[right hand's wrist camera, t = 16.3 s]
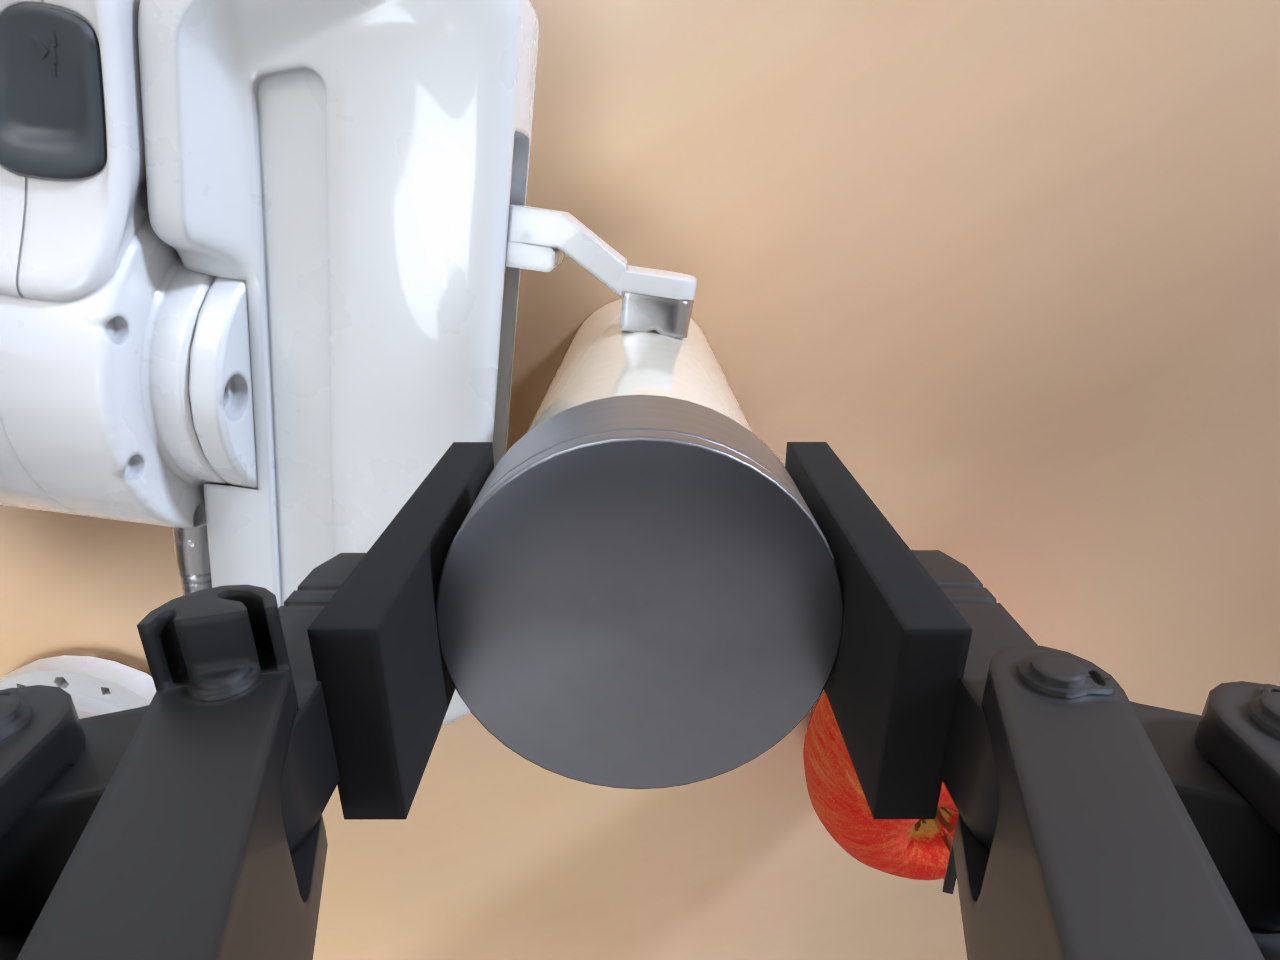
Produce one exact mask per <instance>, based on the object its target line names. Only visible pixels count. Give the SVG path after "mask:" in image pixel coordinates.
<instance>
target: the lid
mask: <svg viewBox="0 0 1280 960" xmlns="http://www.w3.org/2000/svg"><path fill="white" fill-rule="evenodd" d="M843 615H844V601H843V592H842V584H841V580H840V576H839V572H838V568H837V565H836V561H835V559H834V557H833V554H832V552H831V550H830V547H829V545H828V543H827V541H826V538H825V537H824V535H823V533H822V531H821V530H820V528H819V526H818V524H817V522H816V521H815V519H814V517H813V515H812V513H811V512H810V510H809V508H808V506H807V504H806V503H805V501H804V499H803V497H802V495H801V494H800V492H799V490H798V488H797V486H796V485H795V483H794V481H793V480H792V478H791V476H790V475H789V473H788V472H787V470H786V468H785V467H784V465H783V464H782V462H781V461H780V460H779V459H778V458H777V457H776V455H775V454H774V453H773V452H772V451H771V449H770V448H769V447H768V446H767V445H766V444H765V443H763V442H762V441H761V440H760V439H759V438H758V437H757V436H756V435H754V434H753V433H752V432H751V431H750V430H748V429H747V428H745V427H744V426H742V425H741V424H739V423H738V422H736V421H735V420H733V419H731V418H729V417H727V416H725V415H723V414H721V413H719V412H717V411H715V410H713V409H711V408H708V407H705V406H702V405H699V404H696V403H693V402H690V401H686V400H681V399H676V398H671V397H666V396H655V395H625V396H614V397H608V398H603V399H598V400H593V401H590V402H586V403H583V404H580V405H577V406H574V407H571V408H569V409H567V410H565V411H562V412H560V413H558V414H556V415H554V416H552V417H550V418H548V419H547V420H545V421H544V422H542V423H541V424H539V425H537V426H536V427H534V428H533V429H531V430H530V431H529V432H527V433H526V434H525V435H524V436H523V437H522V438H521V439H519V440H518V441H517V442H516V443H515V444H514V445H513V446H512V447H511V448H510V449H509V450H508V451H507V452H506V454H505V455H504V456H503V457H502V458H501V459H500V461H499V462H498V463H497V465H496V466H495V468H494V469H493V471H492V472H491V474H490V476H489V477H488V479H487V480H486V482H485V484H484V486H483V487H482V489H481V491H480V493H479V495H478V496H477V498H476V500H475V502H474V504H473V505H472V507H471V509H470V511H469V513H468V514H467V516H466V518H465V520H464V522H463V523H462V525H461V527H460V529H459V531H458V532H457V534H456V536H455V538H454V540H453V542H452V545H451V547H450V549H449V551H448V553H447V556H446V558H445V560H444V564H443V567H442V571H441V575H440V578H439V582H438V589H437V597H436V620H437V629H438V637H439V645H440V651H441V655H442V658H443V661H444V663H445V666H446V669H447V672H448V675H449V677H450V679H451V681H452V683H453V684H454V686H455V688H456V690H457V692H458V694H459V696H460V697H461V699H462V700H463V701H464V703H465V704H466V706H467V707H468V709H469V710H470V711H471V713H472V714H473V715H474V716H475V717H476V718H477V720H478V721H479V722H480V723H481V724H482V725H483V726H484V727H485V728H486V729H487V730H488V731H489V732H490V733H491V734H492V735H493V736H495V737H496V738H497V739H498V740H499V741H501V742H502V743H503V744H504V745H505V746H507V747H508V748H510V749H511V750H513V751H514V752H516V753H517V754H519V755H520V756H522V757H523V758H525V759H527V760H529V761H531V762H532V763H534V764H536V765H538V766H540V767H542V768H544V769H546V770H549V771H551V772H554V773H557V774H559V775H562V776H565V777H567V778H570V779H574V780H578V781H582V782H586V783H589V784H594V785H601V786H607V787H614V788H629V789H650V788H666V787H672V786H679V785H685V784H690V783H694V782H698V781H701V780H705V779H709V778H712V777H715V776H717V775H720V774H723V773H725V772H728V771H731V770H733V769H735V768H737V767H739V766H741V765H743V764H745V763H747V762H749V761H751V760H753V759H755V758H756V757H758V756H759V755H761V754H762V753H764V752H765V751H767V750H768V749H770V748H771V747H773V746H774V745H775V744H777V743H778V742H779V741H780V740H781V739H782V738H784V737H785V736H786V735H787V734H788V733H790V732H791V731H792V730H793V729H794V728H795V727H796V725H797V724H798V723H799V722H800V721H801V720H802V719H803V718H804V717H805V716H806V715H807V713H808V712H809V711H810V709H811V708H812V706H813V705H814V704H815V702H816V701H817V699H818V698H819V697H820V695H821V693H822V691H823V689H824V687H825V685H826V684H827V682H828V680H829V678H830V676H831V673H832V670H833V668H834V665H835V662H836V659H837V657H838V654H839V648H840V641H841V633H842V624H843Z"/></svg>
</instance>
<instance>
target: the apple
mask: <svg viewBox="0 0 1280 960" xmlns="http://www.w3.org/2000/svg"><path fill="white" fill-rule="evenodd" d="M804 766H805V776H806V782H807V787H808V792H809V795H810V799H811V802H812V805H813V807H814V809H815V811H816V813H817V815H818V817H819V819H820V820H821V822H822V824H823V825H824V827H825V828H826V829H827V831H828V832H829V833H830V835H831V836H832V837H833V838H834V839H835V841H836V842H837V843H838V844H839V845H840V846H841V847H842V848H843V849H844V850H845V851H846V852H848V853H849V854H850V855H851V856H853V857H854V858H855V859H857V860H858V861H860V862H862V863H864V864H866V865H868V866H870V867H873V868H875V869H878V870H880V871H883V872H886V873H889V874H892V875H896V876H900V877H905V878H910V879H919V880H936V879H942V878H945V873H946V869H947V864H948V859H949V855H950V850H951V845H952V840H953V836H954V831H955V826H956V822H957V817H958V812H959V811H958V809H957V808H956V806H955V804H954V802H953V800H952V798H951V796H950V794H949V792H948V790H947V788H946V787H945V785H944V783H943V782H942V787H941V793H940V798H939V803H938V808H937V813H936V818H935V819H873V816H872V814H871V811H870V808H869V806H868V803H867V800H866V798H865V795H864V793H863V790H862V787H861V785H860V782H859V779H858V777H857V774H856V772H855V769H854V766H853V764H852V761H851V758H850V756H849V753H848V750H847V748H846V745H845V743H844V740H843V737H842V735H841V732H840V729H839V727H838V724H837V722H836V719H835V716H834V714H833V711H832V708H831V706H830V703H829V700H828V698H827V695H826V693H825V692H824V694H823V695H822V697H821V698H820V700H819V702H818V704H817V706H816V708H815V710H814V712H813V715H812V718H811V720H810V723H809V726H808V729H807V733H806V737H805V743H804Z"/></svg>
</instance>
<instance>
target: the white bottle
mask: <svg viewBox="0 0 1280 960" xmlns="http://www.w3.org/2000/svg"><path fill="white" fill-rule="evenodd" d="M622 300H623V299H619V300H616V301H613V302H610V303H608V304H606V305H604V306H603V307H601V308H599V309H598V310H597V311H595V312H594V313H593V314H592V315H590V316H589V317H588V318H587V319H586V320H585V322H584V323H583V324H582V325H581V326H580V328H579V329H578V331H577V333H576V334H575V336H574V338H573V340H572V342H571V344H570V346H569V348H568V350H567V352H566V354H565V356H564V358H563V360H562V362H561V364H560V366H559V369H558V371H557V373H556V375H555V377H554V379H553V381H552V383H551V385H550V387H549V389H548V391H547V393H546V395H545V397H544V399H543V401H542V403H541V405H540V407H539V409H538V411H537V413H536V415H535V417H534V419H533V421H532V423H531V425H530V427H529V429H528V431H527V432H529V431H530V430H531V429H533V428H534V427H536V426H537V425H539V424H541V423H542V422H544V421H545V420H547V419H548V418H550V417H552V416H554V415H556V414H558V413H560V412H562V411H565V410H567V409H569V408H571V407H574V406H577V405H580V404H583V403H586V402H590V401H593V400H598V399H603V398H608V397H614V396H625V395H655V396H666V397H671V398H676V399H681V400H686V401H690V402H693V403H696V404H699V405H702V406H705V407H708V408H711V409H713V410H715V411H717V412H719V413H721V414H723V415H725V416H727V417H729V418H731V419H733V420H735V421H736V422H738V423H739V424H741V425H742V426H744V427H745V428H747V429H748V430H750V431H751V432H752V430H751V428H750V426H749V424H748V422H747V420H746V418H745V416H744V414H743V412H742V410H741V408H740V406H739V404H738V402H737V400H736V398H735V396H734V394H733V392H732V390H731V388H730V386H729V384H728V382H727V380H726V378H725V376H724V374H723V372H722V370H721V368H720V366H719V364H718V362H717V360H716V358H715V356H714V354H713V352H712V350H711V348H710V345H709V343H708V341H707V339H706V337H705V335H704V334H703V332H702V330H701V329H700V327H699V326H698V325H697V323H696V322H695V321H694V320H693V319H692V318H690V323H689V329H688V334H687V338H671V337H668V336H665V335H661V334H659V333H658V332H657V331H656V330H655V329H653V330H652V331H650V332H648V333H641V332H638V333H635V332H629V331H622V330H619V327H620V318H621V309H622ZM752 433H753V432H752Z"/></svg>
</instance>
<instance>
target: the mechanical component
mask: <svg viewBox="0 0 1280 960" xmlns="http://www.w3.org/2000/svg"><path fill="white" fill-rule="evenodd" d="M33 685H45V686H55V687H60V688H61V689H63V690H64V691H66V692H67V693H69V694H70V695H71V697H72V700H73V703H74V706H75V709H76V712H77V715H78V717H79V719H82V718H87V717H92V716H97V715H102V714H108V713H113V712H118V711H123V710H128V709H133V708H139V707H143V706H147V705H150V703H151V701H152V699H153V697H154V695H155V693H156V688H155V685H154V681H153V678H152V677H151V676H150V675H148V674H147V673H145V672H142V671H139V670H136V669H134V668H131V667H128V666H126V665H123V664H120V663H118V662H115V661H111V660H106V659H101V658H96V657H91V656H70V655H62V656H56V657H50V658H44V659H38V660H36V661H34V662H32V663H29V664H27V665H25V666H22V667H20V668H18V669H16V670H13V671H11V672H9V673H8V674H7V675H6V676H4V677H3V678H2V679H1V680H0V690H4V689H8V688H18V687H26V686H33Z"/></svg>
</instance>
